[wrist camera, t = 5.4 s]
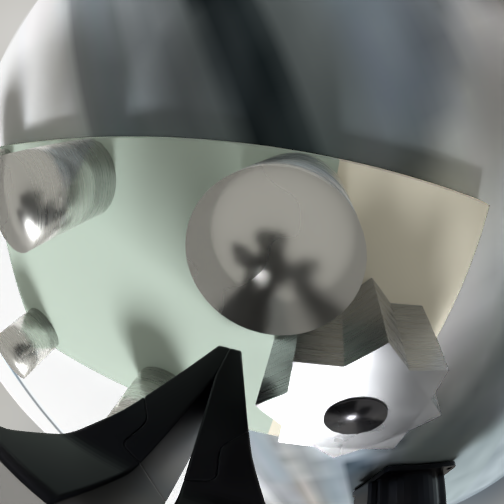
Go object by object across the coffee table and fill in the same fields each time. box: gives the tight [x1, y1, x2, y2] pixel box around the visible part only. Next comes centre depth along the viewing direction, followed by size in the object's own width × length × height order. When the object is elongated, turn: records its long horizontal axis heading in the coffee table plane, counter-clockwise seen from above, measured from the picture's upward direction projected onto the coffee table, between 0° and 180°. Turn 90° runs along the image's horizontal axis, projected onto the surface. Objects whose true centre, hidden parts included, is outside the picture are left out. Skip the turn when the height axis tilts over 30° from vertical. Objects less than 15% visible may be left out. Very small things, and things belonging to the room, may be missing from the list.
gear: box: [255, 278, 449, 458], centre depth 8 cm, size 6×6×3 cm
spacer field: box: [0, 138, 367, 418], centre depth 9 cm, size 18×13×4 cm
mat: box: [0, 136, 490, 437], centre depth 11 cm, size 22×13×1 cm, turn 83°
